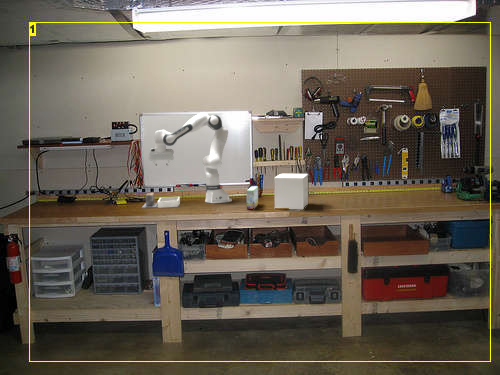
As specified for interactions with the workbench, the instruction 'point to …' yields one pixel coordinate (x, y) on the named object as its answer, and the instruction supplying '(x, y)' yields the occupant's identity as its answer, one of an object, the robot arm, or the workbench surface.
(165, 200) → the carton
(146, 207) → the rubber mat
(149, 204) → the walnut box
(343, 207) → the workbench surface
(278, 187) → the cube
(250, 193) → the snack box
